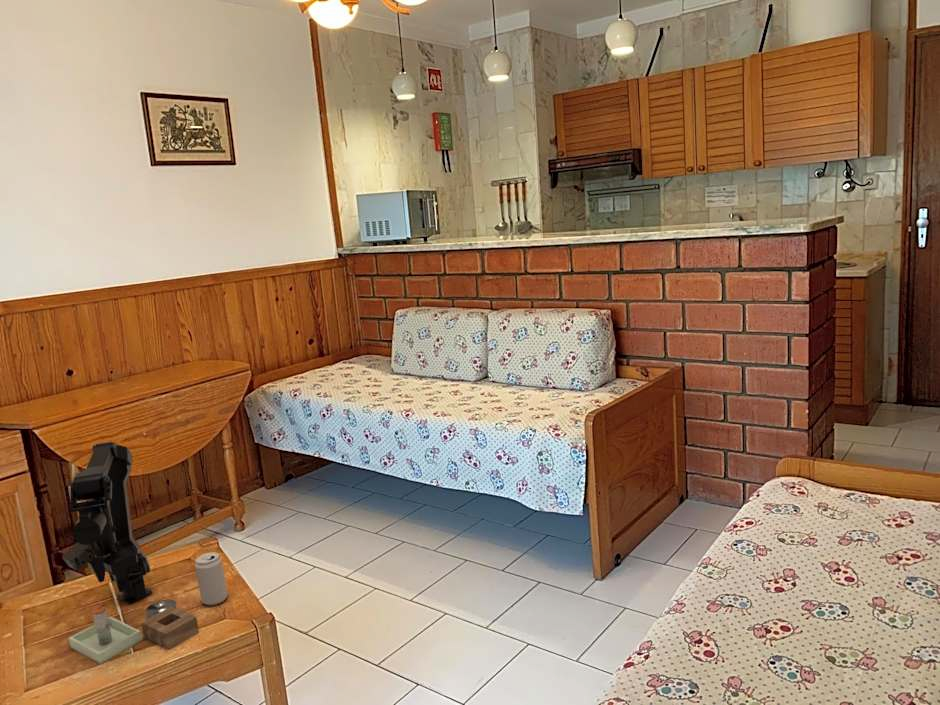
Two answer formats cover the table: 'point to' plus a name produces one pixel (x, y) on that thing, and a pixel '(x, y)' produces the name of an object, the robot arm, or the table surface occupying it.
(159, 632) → the block
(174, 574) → the table surface
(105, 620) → the pin
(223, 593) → the beverage can
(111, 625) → the tray
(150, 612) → the dark grey knobbed lid
